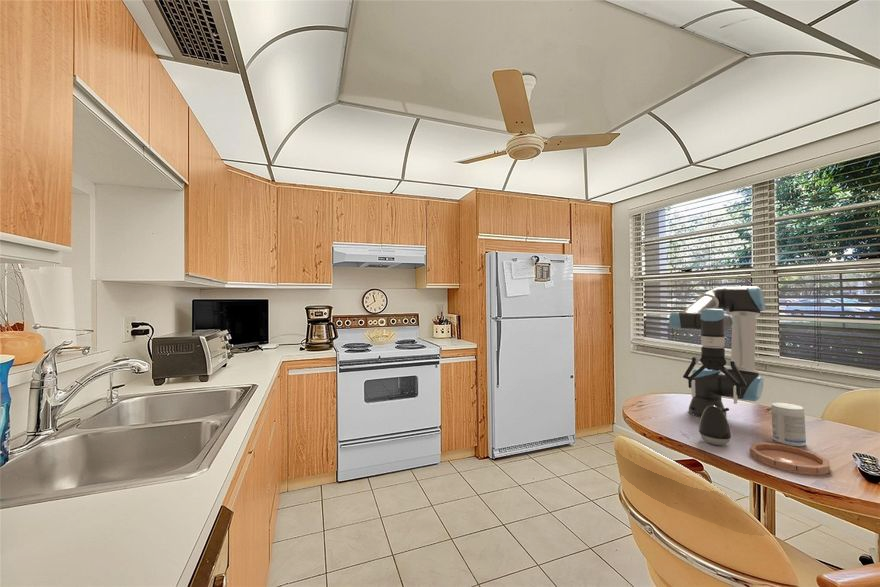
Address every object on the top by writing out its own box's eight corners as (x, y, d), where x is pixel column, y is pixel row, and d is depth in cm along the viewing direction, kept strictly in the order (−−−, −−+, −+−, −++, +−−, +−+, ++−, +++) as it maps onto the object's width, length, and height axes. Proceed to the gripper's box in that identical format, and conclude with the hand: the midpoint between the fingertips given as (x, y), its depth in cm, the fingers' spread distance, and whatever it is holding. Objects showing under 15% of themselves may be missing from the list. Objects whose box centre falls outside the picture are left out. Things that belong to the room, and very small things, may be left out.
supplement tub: (810, 444, 139) (809, 407, 140) (799, 449, 135) (798, 410, 136) (779, 436, 148) (778, 401, 148) (767, 440, 144) (766, 404, 144)
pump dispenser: (737, 449, 136) (736, 409, 136) (707, 447, 138) (706, 408, 138) (722, 439, 146) (721, 402, 146) (694, 437, 148) (693, 401, 148)
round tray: (754, 444, 140) (754, 438, 140) (829, 461, 125) (829, 454, 125) (746, 460, 126) (746, 453, 126) (829, 481, 112) (829, 473, 112)
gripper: (674, 344, 149) (675, 395, 149) (752, 350, 131) (753, 408, 130) (679, 343, 154) (680, 392, 154) (755, 349, 136) (756, 404, 135)
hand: (713, 399), depth 142 cm, fingers open, 13 cm apart
